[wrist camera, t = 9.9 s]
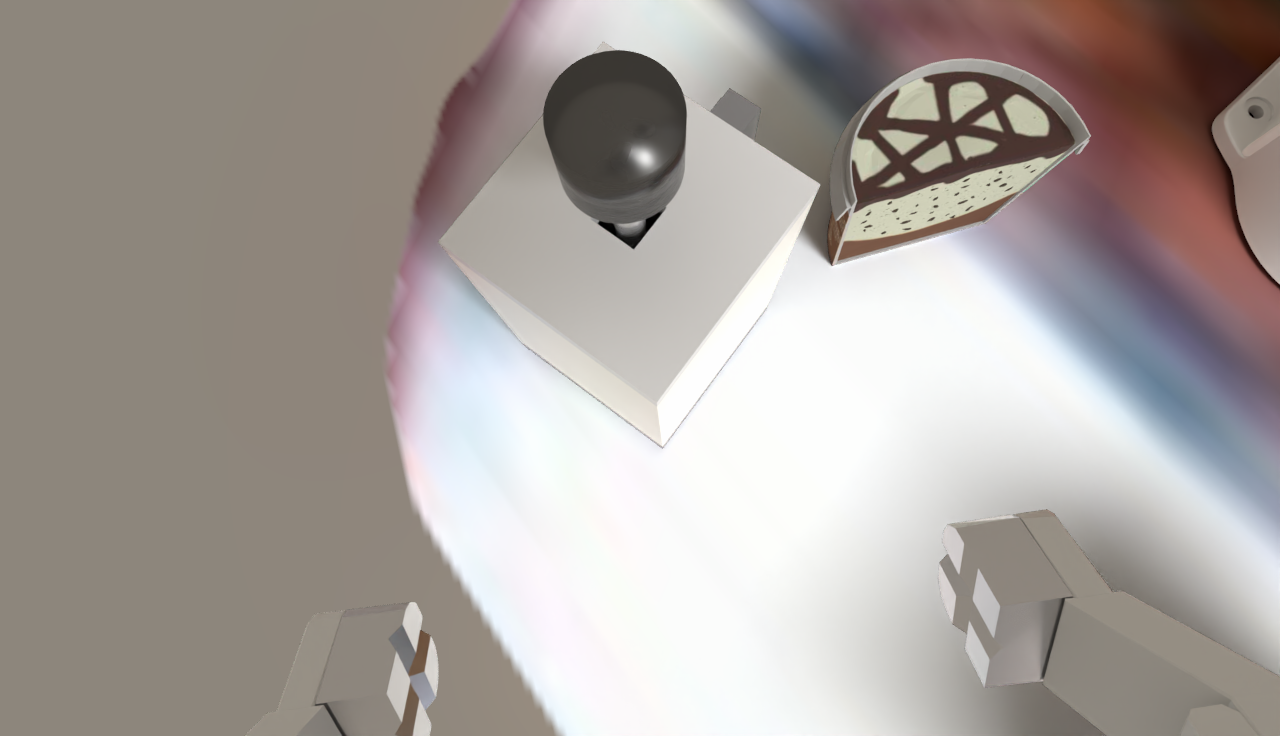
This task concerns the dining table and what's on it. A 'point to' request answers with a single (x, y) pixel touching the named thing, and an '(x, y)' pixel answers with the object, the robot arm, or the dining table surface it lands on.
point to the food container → (943, 154)
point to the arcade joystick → (639, 266)
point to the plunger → (618, 138)
